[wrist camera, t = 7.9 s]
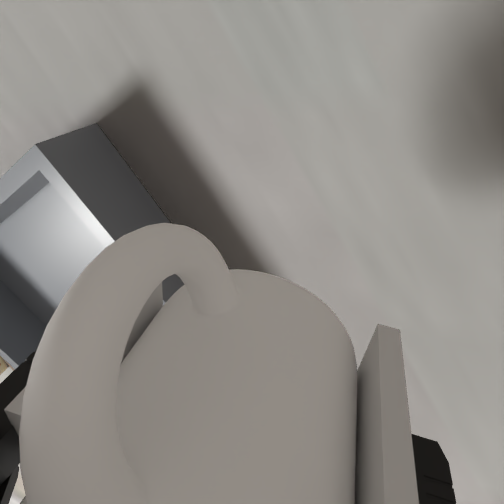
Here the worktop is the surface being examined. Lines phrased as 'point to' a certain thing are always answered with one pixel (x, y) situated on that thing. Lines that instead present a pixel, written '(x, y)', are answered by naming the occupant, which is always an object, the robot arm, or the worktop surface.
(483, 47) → the worktop surface
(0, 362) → the coffeecake box
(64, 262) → the box
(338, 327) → the mug
